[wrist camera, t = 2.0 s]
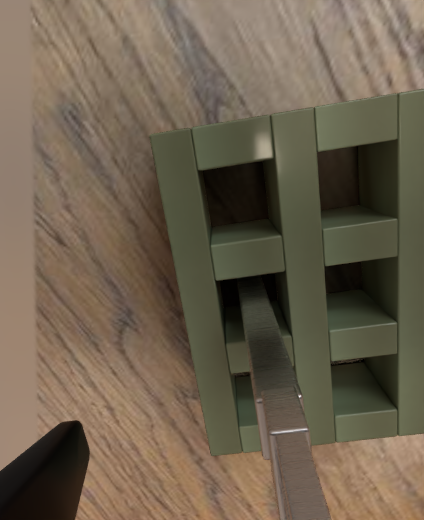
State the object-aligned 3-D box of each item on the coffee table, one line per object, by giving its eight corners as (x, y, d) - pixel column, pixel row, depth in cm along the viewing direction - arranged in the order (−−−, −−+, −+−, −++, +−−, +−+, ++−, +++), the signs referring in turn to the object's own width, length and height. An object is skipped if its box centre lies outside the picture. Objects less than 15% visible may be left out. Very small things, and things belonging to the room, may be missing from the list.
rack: (212, 402, 18) (210, 457, 15) (164, 139, 15) (148, 134, 11) (392, 381, 18) (432, 433, 14) (390, 102, 14) (444, 84, 11)
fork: (239, 300, 17) (295, 685, 5) (233, 257, 16) (279, 570, 4) (260, 298, 17) (373, 681, 4) (254, 254, 16) (369, 563, 4)
